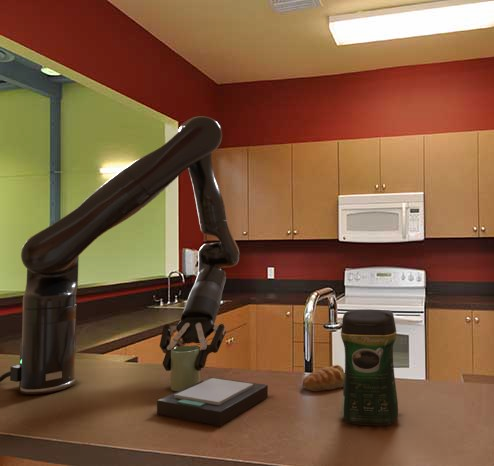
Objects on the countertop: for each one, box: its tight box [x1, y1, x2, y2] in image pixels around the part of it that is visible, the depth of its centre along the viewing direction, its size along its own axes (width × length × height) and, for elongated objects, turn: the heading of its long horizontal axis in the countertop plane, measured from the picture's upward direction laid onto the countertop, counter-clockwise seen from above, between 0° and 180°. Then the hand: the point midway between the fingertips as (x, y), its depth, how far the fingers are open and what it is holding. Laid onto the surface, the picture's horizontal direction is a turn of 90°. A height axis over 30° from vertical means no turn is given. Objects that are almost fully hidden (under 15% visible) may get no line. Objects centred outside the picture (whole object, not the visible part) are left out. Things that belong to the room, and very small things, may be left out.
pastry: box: [301, 364, 345, 392], centre depth 85 cm, size 9×7×4 cm
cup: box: [170, 345, 201, 392], centre depth 86 cm, size 6×6×8 cm
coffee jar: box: [340, 308, 399, 426], centre depth 70 cm, size 10×8×19 cm
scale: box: [156, 376, 269, 427], centre depth 75 cm, size 14×14×3 cm
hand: (182, 368), depth 84 cm, fingers closed on cup, 6 cm apart
